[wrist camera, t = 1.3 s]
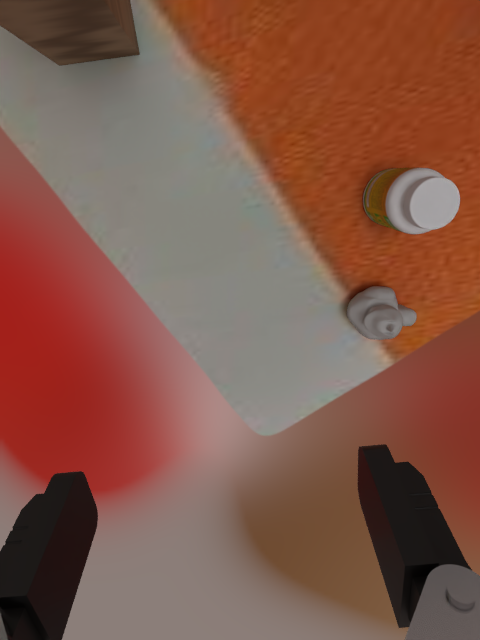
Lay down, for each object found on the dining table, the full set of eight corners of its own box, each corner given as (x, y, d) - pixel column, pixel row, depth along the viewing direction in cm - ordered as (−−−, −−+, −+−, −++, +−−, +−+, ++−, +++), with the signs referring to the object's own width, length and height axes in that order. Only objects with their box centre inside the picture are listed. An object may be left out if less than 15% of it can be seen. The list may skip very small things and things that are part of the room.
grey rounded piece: (345, 279, 46) (371, 301, 38) (407, 283, 46) (445, 305, 39) (338, 329, 47) (361, 359, 40) (398, 332, 48) (432, 362, 40)
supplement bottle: (354, 217, 44) (390, 229, 34) (372, 161, 42) (415, 158, 33) (404, 231, 44) (453, 246, 35) (424, 176, 43) (481, 177, 34)
